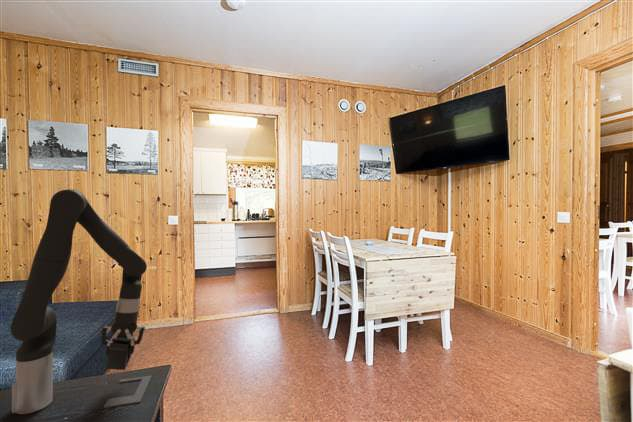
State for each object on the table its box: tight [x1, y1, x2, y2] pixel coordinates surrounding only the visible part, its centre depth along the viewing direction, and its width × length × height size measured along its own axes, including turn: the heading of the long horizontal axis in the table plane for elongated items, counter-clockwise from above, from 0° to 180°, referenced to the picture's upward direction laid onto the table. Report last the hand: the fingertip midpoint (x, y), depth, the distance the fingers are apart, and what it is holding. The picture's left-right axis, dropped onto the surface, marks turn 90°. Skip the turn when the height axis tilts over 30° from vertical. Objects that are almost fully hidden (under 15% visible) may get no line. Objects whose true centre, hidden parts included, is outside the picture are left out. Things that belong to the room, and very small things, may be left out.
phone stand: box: [107, 338, 132, 371], centre depth 113 cm, size 9×6×12 cm
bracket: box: [103, 375, 152, 409], centre depth 111 cm, size 11×17×1 cm, turn 17°
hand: (119, 355), depth 112 cm, fingers closed on phone stand, 6 cm apart
